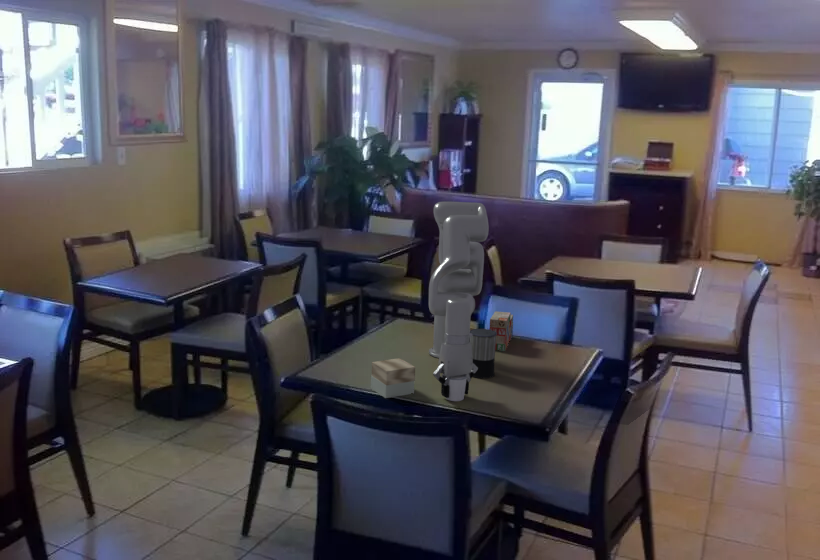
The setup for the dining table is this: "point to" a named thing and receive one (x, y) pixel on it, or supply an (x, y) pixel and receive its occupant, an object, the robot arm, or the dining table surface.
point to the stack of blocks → (502, 328)
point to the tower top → (393, 371)
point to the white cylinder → (457, 387)
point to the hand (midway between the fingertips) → (454, 394)
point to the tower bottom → (392, 388)
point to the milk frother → (483, 351)
